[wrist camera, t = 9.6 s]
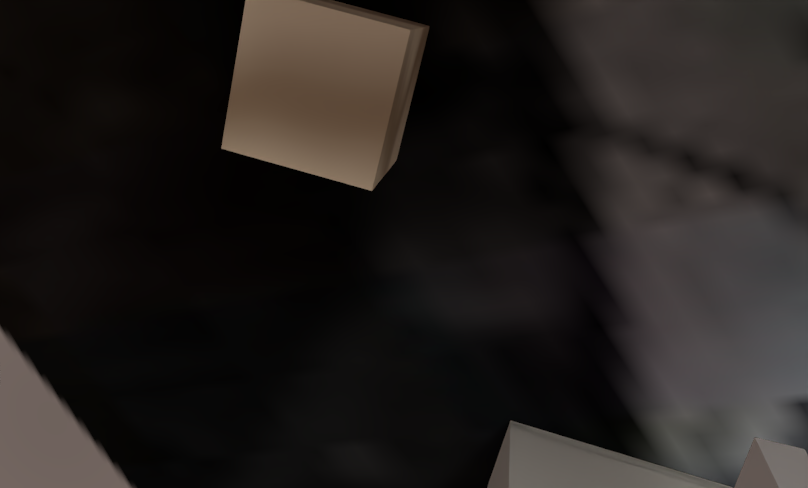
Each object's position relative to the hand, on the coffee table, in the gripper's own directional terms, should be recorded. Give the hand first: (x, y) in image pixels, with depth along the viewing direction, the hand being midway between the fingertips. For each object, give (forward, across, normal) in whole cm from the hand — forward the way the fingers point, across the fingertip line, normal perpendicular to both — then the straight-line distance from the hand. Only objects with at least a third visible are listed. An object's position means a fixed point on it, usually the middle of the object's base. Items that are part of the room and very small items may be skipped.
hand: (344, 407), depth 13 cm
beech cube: (+16, -4, +3) cm, 17 cm away
